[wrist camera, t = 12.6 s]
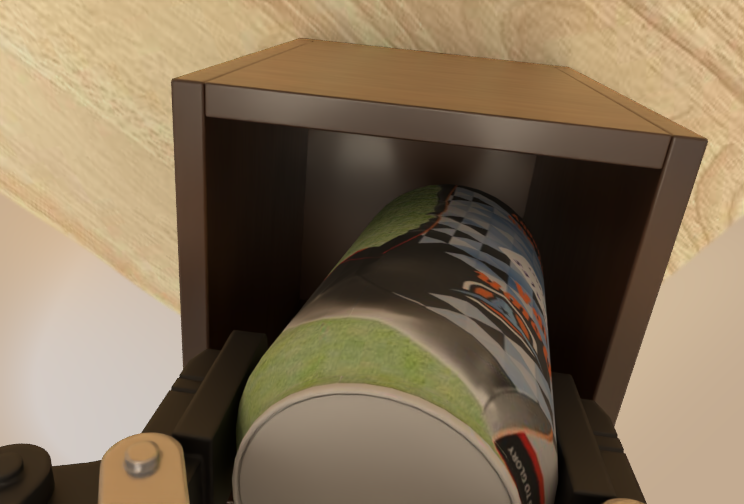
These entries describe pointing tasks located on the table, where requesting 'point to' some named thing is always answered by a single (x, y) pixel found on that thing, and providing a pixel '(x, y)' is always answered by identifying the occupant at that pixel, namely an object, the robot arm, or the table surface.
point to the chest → (422, 185)
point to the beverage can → (411, 369)
